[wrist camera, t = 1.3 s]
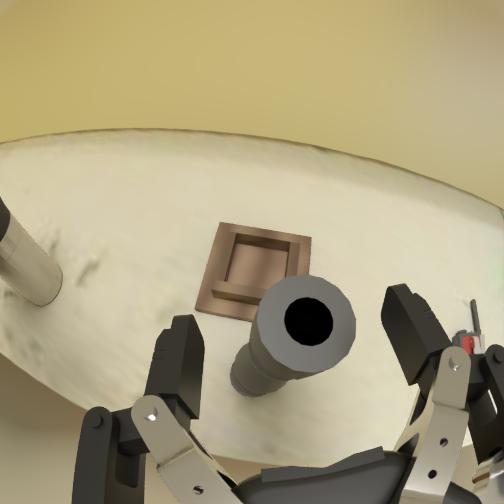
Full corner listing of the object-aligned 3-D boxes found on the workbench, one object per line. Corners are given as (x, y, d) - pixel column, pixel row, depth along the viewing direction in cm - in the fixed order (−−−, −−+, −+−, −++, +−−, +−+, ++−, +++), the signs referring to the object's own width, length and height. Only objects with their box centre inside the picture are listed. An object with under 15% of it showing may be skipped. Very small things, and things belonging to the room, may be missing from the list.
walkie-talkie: (480, 395, 31) (472, 302, 42) (495, 391, 27) (485, 293, 38) (451, 402, 31) (445, 300, 42) (467, 399, 28) (458, 291, 38)
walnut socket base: (196, 310, 40) (191, 300, 36) (220, 226, 48) (218, 210, 45) (301, 329, 39) (307, 321, 35) (310, 241, 47) (315, 226, 44)
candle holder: (223, 363, 35) (233, 291, 14) (263, 348, 37) (327, 257, 16) (240, 403, 33) (282, 398, 12) (281, 386, 34) (377, 345, 14)
